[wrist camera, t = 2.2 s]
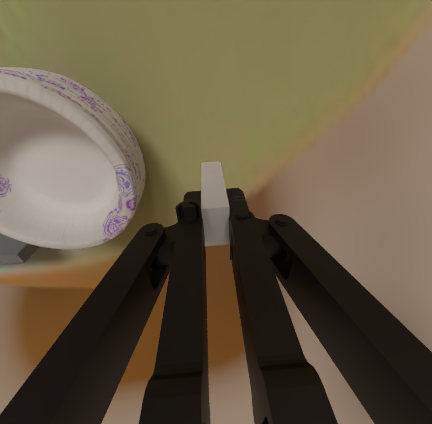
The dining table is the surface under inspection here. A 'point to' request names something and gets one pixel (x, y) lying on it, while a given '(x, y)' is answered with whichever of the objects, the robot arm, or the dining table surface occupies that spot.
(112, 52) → the dining table surface
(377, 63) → the dining table surface
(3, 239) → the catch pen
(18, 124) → the paper bowls
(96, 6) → the dining table surface
